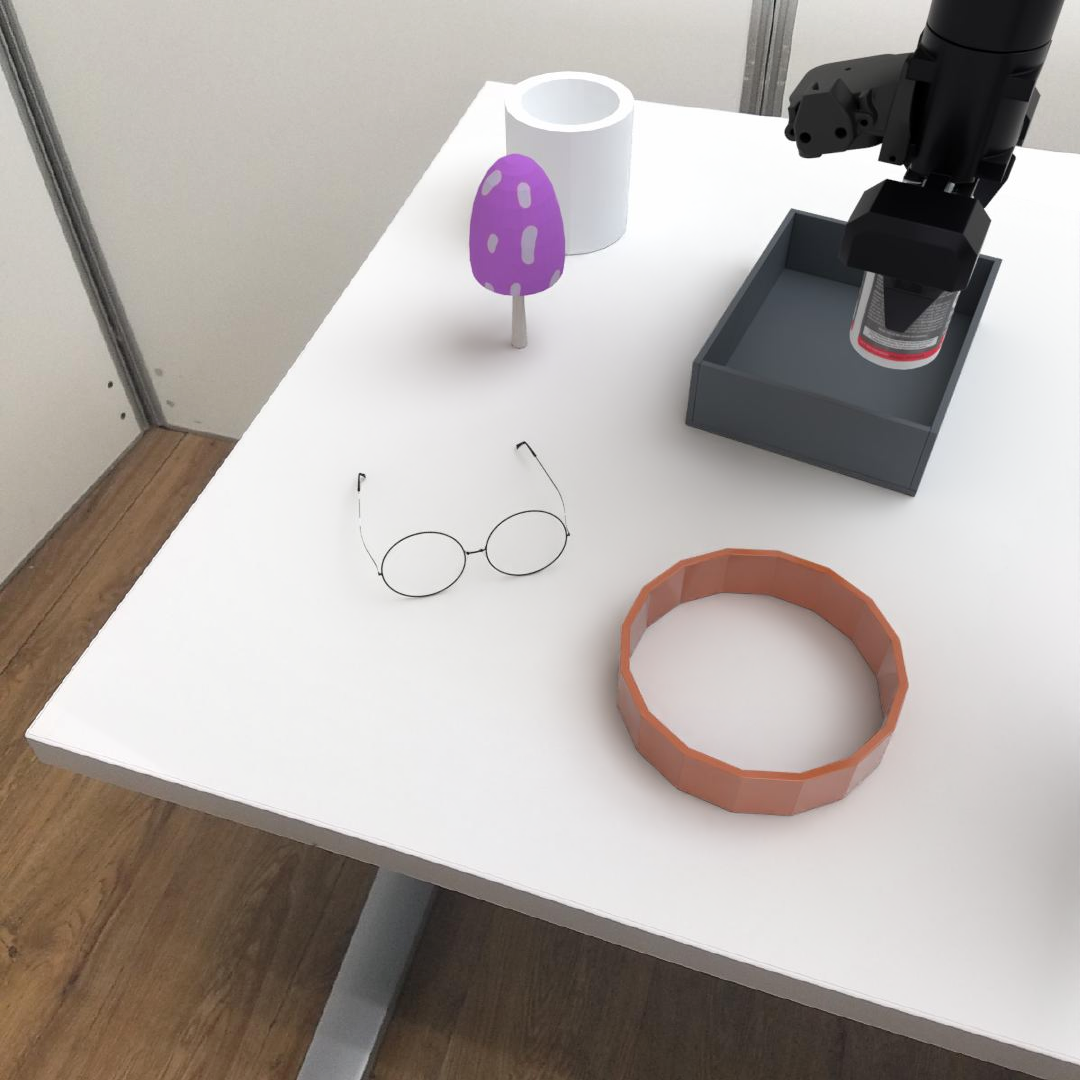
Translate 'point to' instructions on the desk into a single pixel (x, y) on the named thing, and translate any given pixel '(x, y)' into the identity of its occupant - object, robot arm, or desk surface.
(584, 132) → the mug
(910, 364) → the pill bottle
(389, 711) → the desk surface
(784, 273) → the bin
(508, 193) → the toy
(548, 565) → the eyeglasses
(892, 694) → the ring
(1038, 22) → the robot arm
